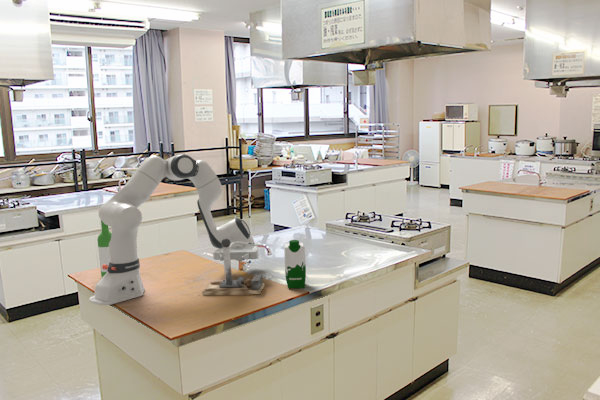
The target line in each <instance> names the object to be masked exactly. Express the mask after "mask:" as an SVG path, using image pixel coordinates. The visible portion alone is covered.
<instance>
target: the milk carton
mask: <svg viewBox="0 0 600 400" xmlns="http://www.w3.org/2000/svg"><path fill="white" fill-rule="evenodd" d="M283 251H284V274H285V281H286V286H287V289H288V288H294V290H295V289H305V287H306V278H307V277H306V275H307V272H306V271H307V268H306V267H307V266H306V254H305V253H306V252H305V251H306V250H305V245H304V243H303V242H300V240H298V239H291V240H289V241H288V242H287V243H286V242H285V243H284V250H283Z"/></svg>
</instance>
